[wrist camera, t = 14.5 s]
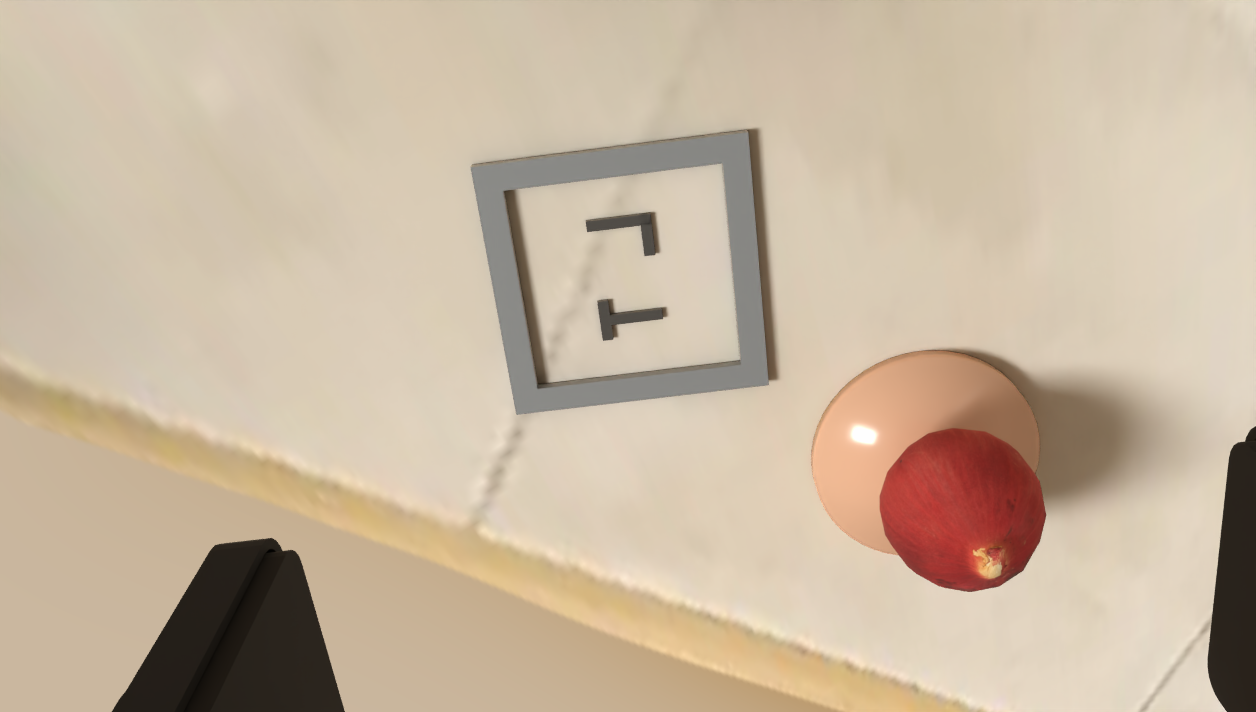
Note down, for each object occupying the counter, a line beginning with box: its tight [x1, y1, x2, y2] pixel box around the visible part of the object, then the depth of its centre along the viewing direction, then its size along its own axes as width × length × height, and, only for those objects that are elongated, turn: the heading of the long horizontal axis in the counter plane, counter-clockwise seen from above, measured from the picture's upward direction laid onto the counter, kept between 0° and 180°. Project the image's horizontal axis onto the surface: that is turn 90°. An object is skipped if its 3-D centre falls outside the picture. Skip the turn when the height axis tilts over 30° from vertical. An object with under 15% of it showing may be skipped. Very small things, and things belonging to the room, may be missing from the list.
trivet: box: [811, 350, 1040, 555], centre depth 45 cm, size 9×9×1 cm
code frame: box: [471, 130, 769, 415], centre depth 42 cm, size 10×10×1 cm
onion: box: [880, 428, 1046, 592], centre depth 40 cm, size 6×6×8 cm
